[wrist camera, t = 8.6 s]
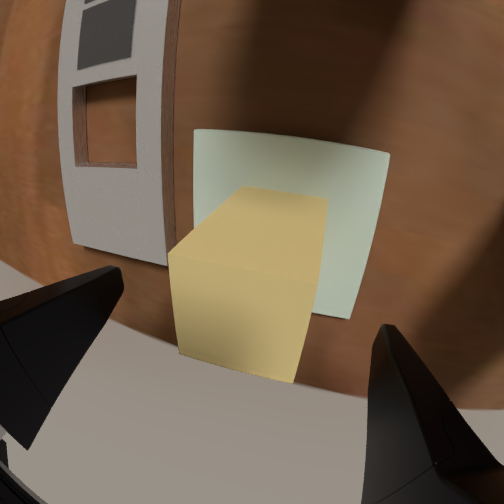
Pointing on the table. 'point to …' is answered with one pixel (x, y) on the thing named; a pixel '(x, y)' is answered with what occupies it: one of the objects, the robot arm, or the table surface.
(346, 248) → the sage mat
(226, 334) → the ochre block
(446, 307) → the table surface
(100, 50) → the rail plate
